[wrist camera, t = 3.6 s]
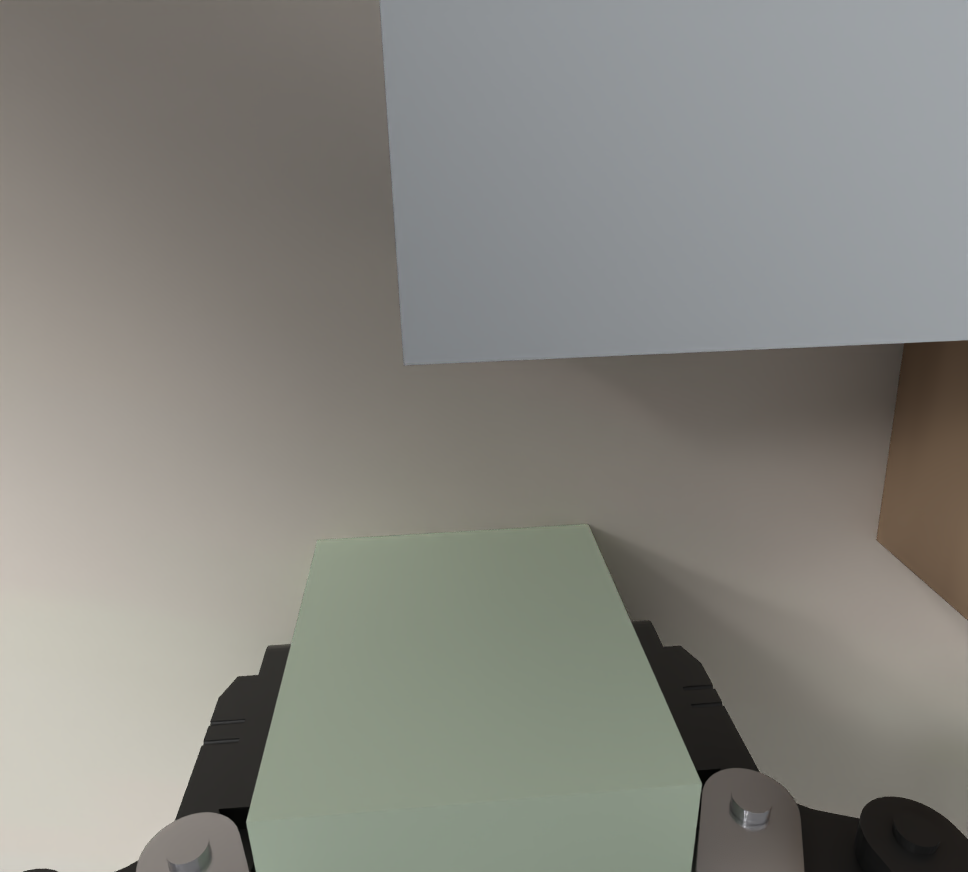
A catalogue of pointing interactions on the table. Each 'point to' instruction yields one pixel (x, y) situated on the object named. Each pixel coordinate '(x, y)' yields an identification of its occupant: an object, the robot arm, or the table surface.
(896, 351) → the table surface
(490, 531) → the sage cube
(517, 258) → the slate cube
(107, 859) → the table surface
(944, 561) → the walnut block
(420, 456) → the table surface
